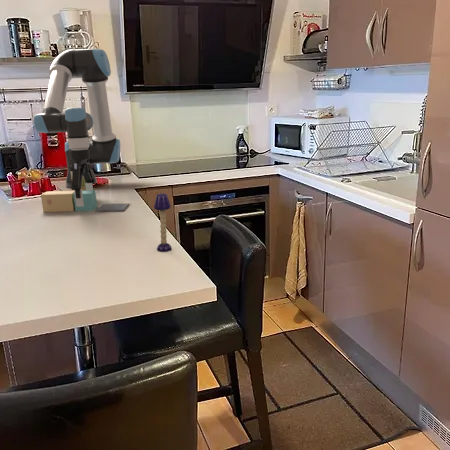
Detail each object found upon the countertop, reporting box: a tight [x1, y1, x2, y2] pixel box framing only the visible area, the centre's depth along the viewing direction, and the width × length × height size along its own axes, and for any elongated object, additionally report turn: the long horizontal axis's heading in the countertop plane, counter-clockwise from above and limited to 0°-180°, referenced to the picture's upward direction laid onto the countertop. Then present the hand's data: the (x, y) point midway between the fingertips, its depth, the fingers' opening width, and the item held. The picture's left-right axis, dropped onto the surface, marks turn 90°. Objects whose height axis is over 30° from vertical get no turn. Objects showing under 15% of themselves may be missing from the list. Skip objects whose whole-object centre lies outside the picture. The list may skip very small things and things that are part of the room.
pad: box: [94, 202, 130, 213], centre depth 186 cm, size 11×11×1 cm
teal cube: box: [73, 189, 98, 212], centre depth 186 cm, size 6×7×7 cm
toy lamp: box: [153, 193, 173, 253], centre depth 134 cm, size 5×5×17 cm
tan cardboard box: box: [40, 190, 76, 213], centre depth 186 cm, size 6×13×7 cm, turn 89°
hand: (85, 202), depth 186 cm, fingers open, 13 cm apart
